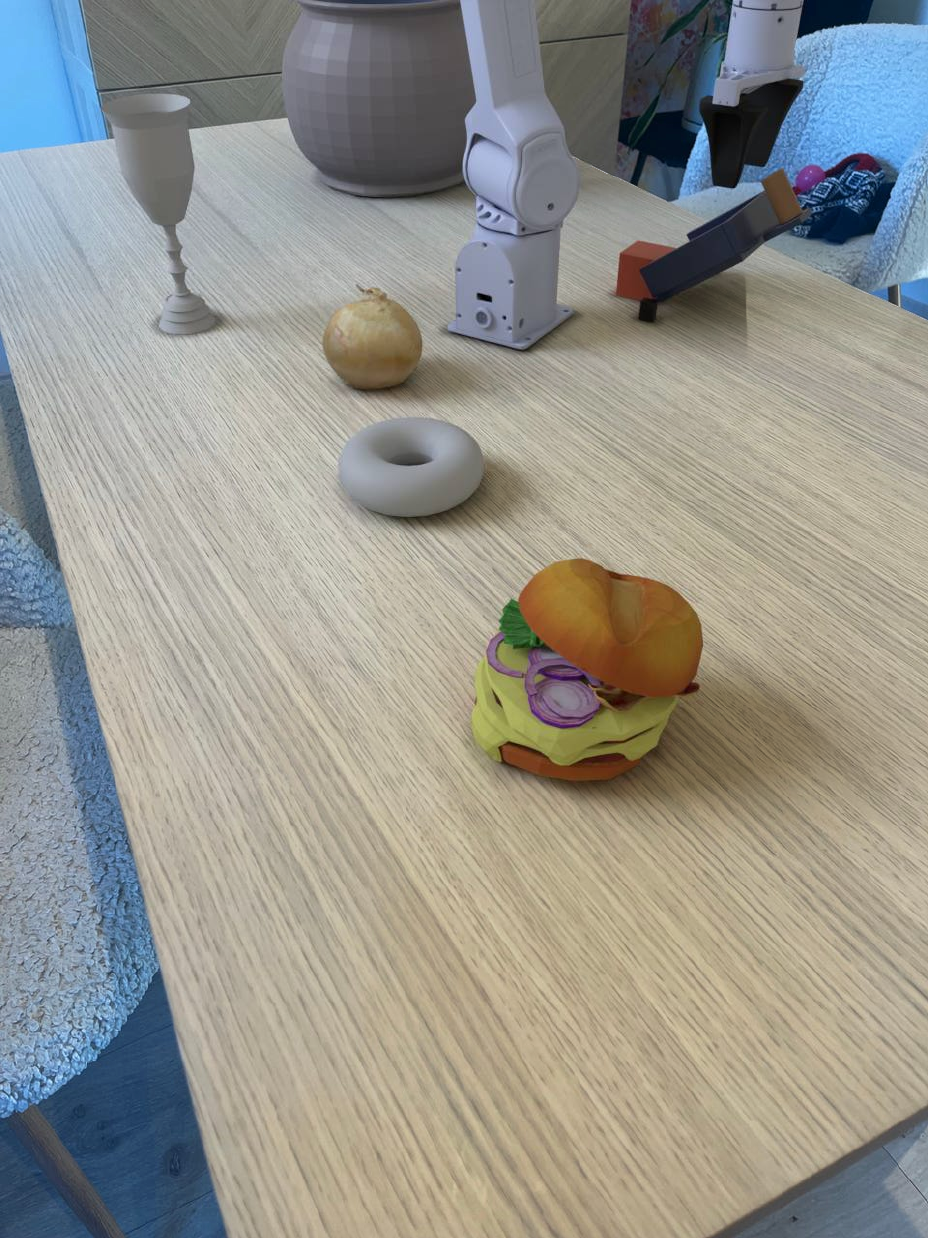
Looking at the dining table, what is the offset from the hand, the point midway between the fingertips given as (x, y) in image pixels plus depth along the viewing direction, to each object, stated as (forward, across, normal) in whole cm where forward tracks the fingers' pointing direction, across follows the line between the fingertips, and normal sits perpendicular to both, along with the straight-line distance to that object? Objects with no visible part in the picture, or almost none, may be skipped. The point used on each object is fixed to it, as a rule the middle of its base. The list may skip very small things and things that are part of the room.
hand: (739, 175), depth 93 cm
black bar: (+9, -7, +2) cm, 12 cm away
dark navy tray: (+5, -7, -3) cm, 9 cm away
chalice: (+10, -36, +37) cm, 53 cm away
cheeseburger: (+10, -62, -16) cm, 65 cm away
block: (+7, -8, +3) cm, 11 cm away
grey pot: (+10, +10, +47) cm, 49 cm away
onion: (+10, -36, +16) cm, 41 cm away
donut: (+10, -48, +4) cm, 49 cm away
